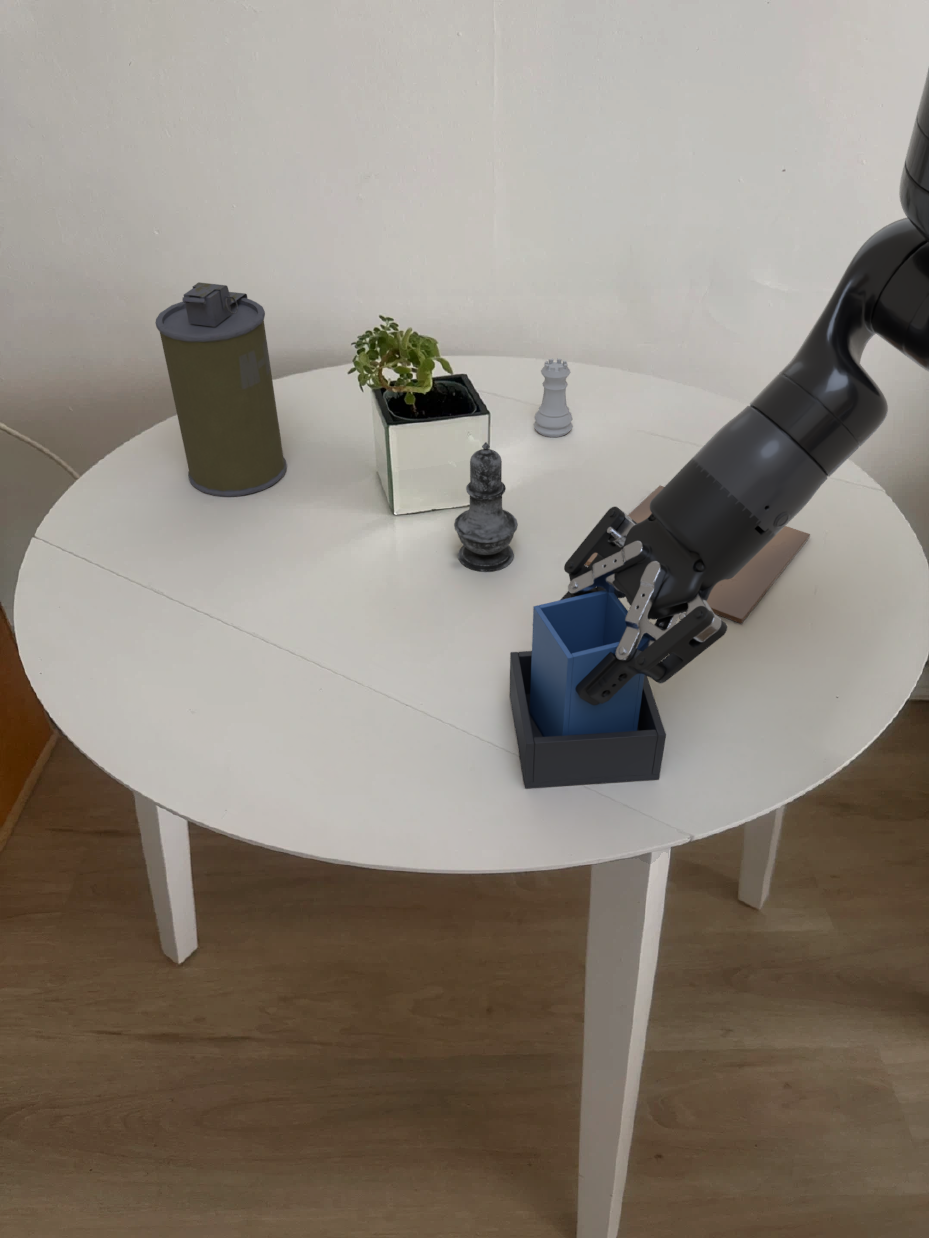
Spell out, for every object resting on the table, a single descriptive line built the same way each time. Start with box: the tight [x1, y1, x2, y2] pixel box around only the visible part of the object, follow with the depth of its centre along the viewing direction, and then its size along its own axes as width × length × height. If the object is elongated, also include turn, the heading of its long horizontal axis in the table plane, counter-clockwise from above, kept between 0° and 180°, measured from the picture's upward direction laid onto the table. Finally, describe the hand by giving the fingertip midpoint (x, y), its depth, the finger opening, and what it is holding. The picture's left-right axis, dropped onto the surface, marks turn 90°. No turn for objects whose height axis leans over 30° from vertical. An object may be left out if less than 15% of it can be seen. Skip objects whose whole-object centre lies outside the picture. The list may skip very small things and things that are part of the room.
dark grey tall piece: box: [453, 441, 519, 573], centre depth 91 cm, size 6×6×12 cm
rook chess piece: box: [533, 358, 574, 438], centre depth 111 cm, size 4×4×8 cm
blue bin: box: [530, 590, 648, 737], centre depth 72 cm, size 6×6×10 cm
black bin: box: [509, 650, 667, 789], centre depth 74 cm, size 10×10×5 cm
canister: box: [155, 282, 288, 497], centre depth 101 cm, size 11×10×20 cm
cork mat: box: [584, 485, 811, 625], centre depth 94 cm, size 16×16×1 cm
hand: (565, 667), depth 70 cm, fingers open, 6 cm apart
